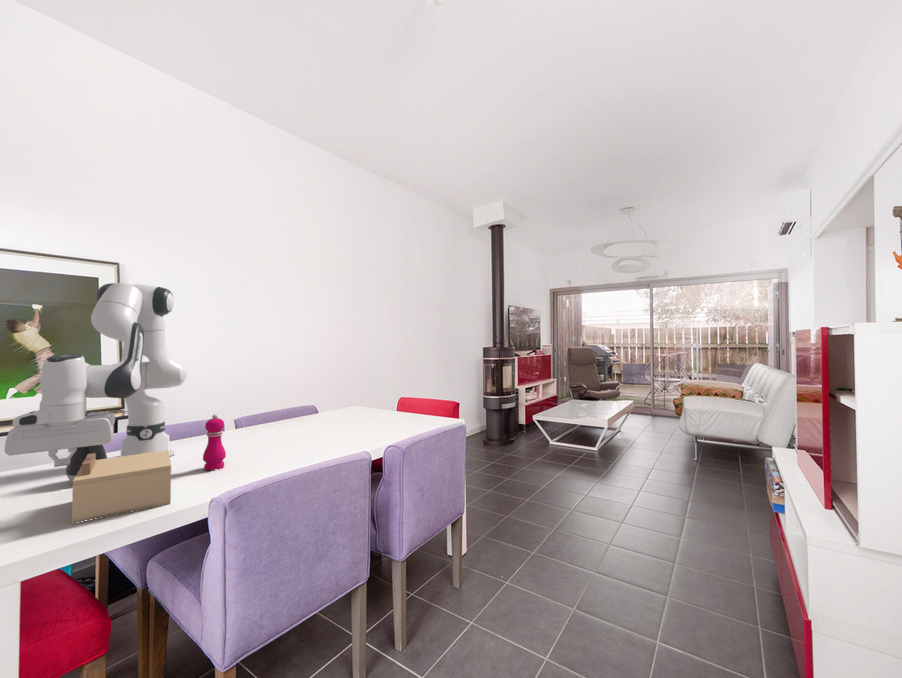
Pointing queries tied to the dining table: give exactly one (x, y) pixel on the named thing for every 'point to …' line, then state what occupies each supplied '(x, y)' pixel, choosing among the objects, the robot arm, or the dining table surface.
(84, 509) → the box
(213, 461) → the pepper mill
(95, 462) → the lid
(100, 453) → the black egg shape
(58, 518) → the dining table surface
